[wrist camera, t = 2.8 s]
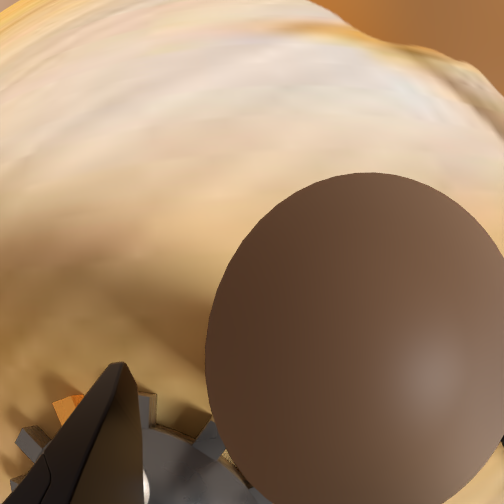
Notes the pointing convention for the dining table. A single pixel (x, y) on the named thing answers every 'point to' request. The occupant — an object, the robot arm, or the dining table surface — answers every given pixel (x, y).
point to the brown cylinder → (360, 346)
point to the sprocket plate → (166, 460)
